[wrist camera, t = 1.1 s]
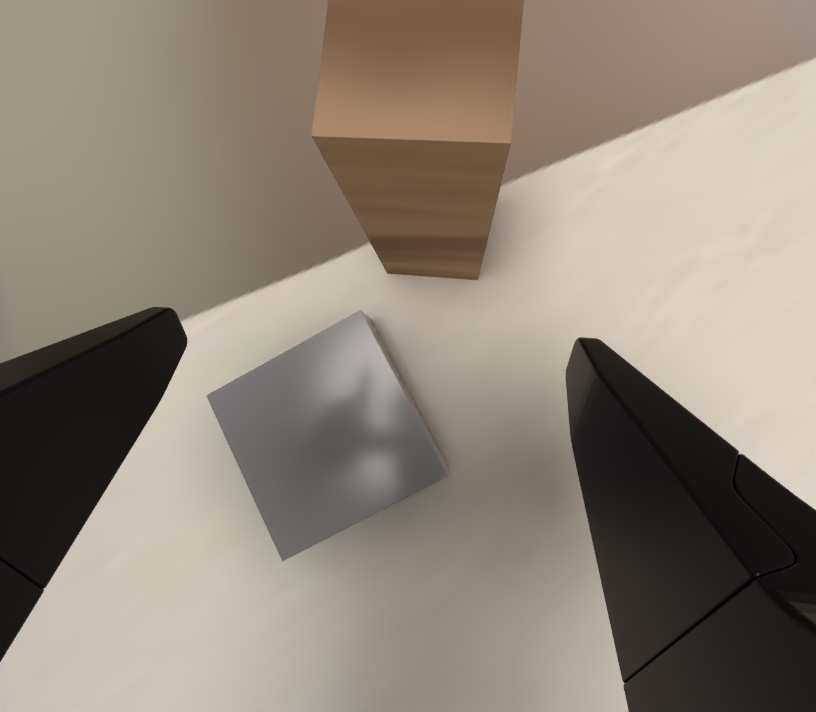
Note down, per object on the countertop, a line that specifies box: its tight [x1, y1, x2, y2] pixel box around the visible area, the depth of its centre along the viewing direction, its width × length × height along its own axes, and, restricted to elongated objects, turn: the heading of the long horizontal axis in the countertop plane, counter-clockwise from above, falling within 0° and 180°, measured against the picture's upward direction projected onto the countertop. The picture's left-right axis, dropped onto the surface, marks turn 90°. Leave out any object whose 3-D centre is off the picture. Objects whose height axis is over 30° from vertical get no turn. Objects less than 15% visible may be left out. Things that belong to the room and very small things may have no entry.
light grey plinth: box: [207, 310, 448, 561], centre depth 21 cm, size 9×9×2 cm
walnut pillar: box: [312, 0, 524, 280], centre depth 16 cm, size 5×5×12 cm
